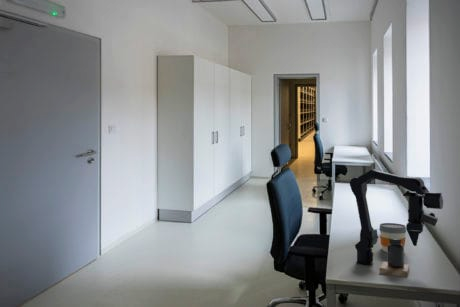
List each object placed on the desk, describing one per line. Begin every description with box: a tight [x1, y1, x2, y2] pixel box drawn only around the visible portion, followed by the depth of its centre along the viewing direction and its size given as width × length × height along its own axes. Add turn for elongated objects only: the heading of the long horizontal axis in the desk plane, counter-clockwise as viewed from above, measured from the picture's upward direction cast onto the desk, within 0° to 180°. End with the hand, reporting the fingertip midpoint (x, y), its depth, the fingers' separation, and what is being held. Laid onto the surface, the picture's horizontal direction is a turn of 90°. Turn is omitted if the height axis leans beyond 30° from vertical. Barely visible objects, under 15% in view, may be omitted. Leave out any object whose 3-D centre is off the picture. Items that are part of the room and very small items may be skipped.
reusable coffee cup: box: [378, 222, 407, 253], centre depth 206 cm, size 13×13×15 cm
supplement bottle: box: [386, 238, 405, 268], centre depth 179 cm, size 7×7×12 cm
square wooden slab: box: [379, 261, 410, 278], centre depth 179 cm, size 11×11×3 cm
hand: (415, 243), depth 175 cm, fingers open, 9 cm apart
